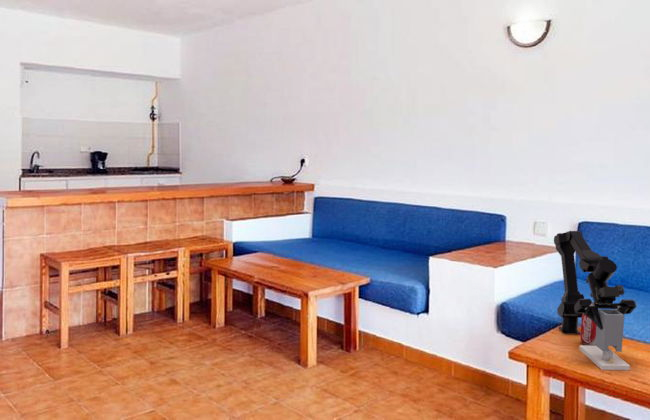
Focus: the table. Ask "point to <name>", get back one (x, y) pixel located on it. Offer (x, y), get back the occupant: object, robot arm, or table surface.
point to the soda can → (588, 331)
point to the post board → (602, 363)
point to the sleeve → (610, 330)
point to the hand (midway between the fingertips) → (611, 329)
